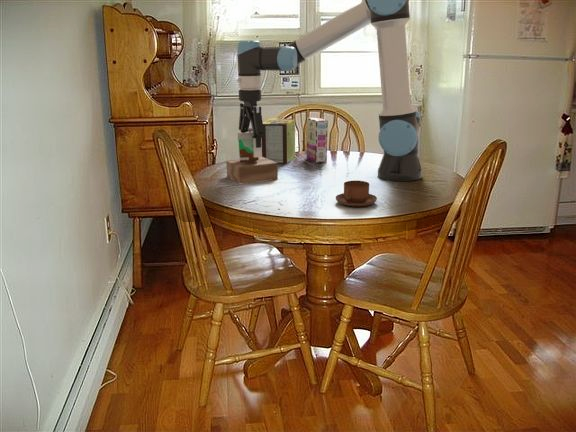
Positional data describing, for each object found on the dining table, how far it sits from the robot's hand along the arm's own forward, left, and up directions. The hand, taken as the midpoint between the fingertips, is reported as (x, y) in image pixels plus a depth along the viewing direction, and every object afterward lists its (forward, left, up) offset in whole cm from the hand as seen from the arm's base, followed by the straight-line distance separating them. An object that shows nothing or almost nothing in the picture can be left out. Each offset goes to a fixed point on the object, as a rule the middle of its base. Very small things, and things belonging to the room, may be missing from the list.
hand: (251, 154), depth 198 cm
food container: (-1, 0, -2) cm, 2 cm away
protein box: (+25, -21, -9) cm, 34 cm away
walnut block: (0, 0, -9) cm, 9 cm away
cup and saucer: (-44, -16, -9) cm, 47 cm away
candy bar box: (+17, -34, -9) cm, 39 cm away
